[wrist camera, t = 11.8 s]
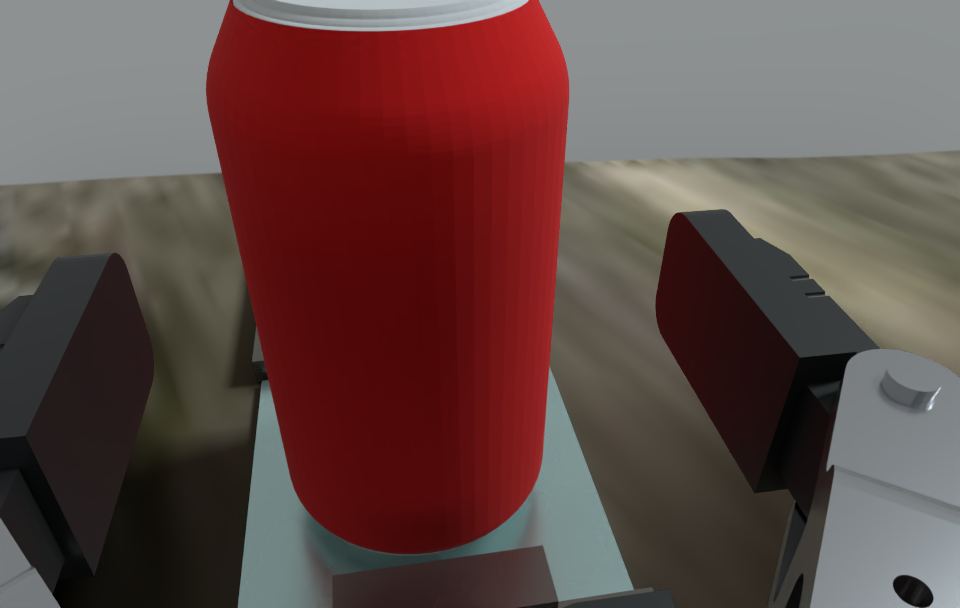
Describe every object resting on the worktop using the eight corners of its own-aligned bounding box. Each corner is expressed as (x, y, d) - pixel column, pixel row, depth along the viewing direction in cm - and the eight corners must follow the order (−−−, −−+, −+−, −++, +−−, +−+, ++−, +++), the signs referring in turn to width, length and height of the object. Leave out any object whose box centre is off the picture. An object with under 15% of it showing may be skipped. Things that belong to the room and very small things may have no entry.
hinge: (502, 233, 29) (504, 168, 28) (836, 1101, 10) (906, 1058, 9) (271, 252, 28) (258, 186, 26) (152, 1282, 9) (81, 1273, 7)
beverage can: (351, 379, 22) (291, -67, 15) (558, 415, 21) (599, -51, 14) (251, 550, 17) (90, 11, 10) (512, 611, 16) (539, 45, 9)
